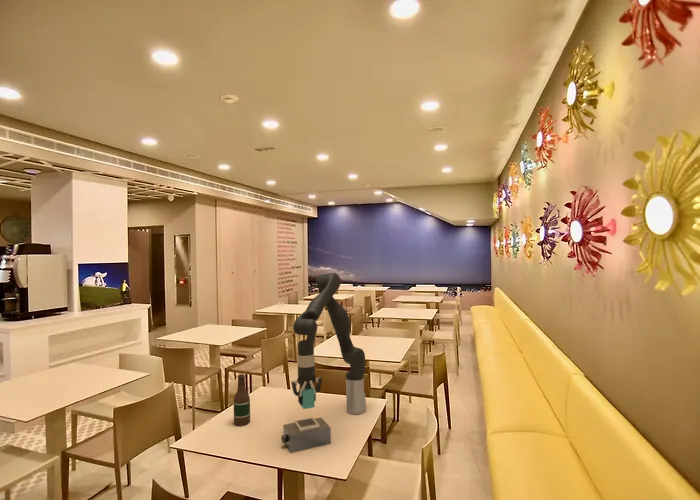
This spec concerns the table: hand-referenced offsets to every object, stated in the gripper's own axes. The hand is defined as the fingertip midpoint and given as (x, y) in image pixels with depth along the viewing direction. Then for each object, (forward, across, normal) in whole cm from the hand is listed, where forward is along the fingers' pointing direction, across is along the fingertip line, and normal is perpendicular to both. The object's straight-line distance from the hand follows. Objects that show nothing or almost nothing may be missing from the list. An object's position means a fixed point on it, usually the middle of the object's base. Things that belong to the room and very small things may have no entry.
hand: (307, 402), depth 173 cm
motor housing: (+17, 0, 0) cm, 17 cm away
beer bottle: (+17, +23, -34) cm, 44 cm away
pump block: (+1, 0, 0) cm, 1 cm away
